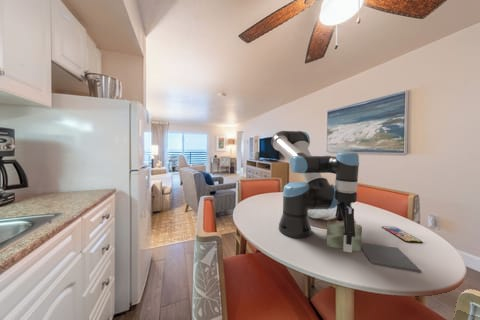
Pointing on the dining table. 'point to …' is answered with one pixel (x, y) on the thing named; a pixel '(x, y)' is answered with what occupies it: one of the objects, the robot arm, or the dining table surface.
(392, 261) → the mat
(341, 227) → the tile
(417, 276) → the dining table surface
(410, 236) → the smartphone
